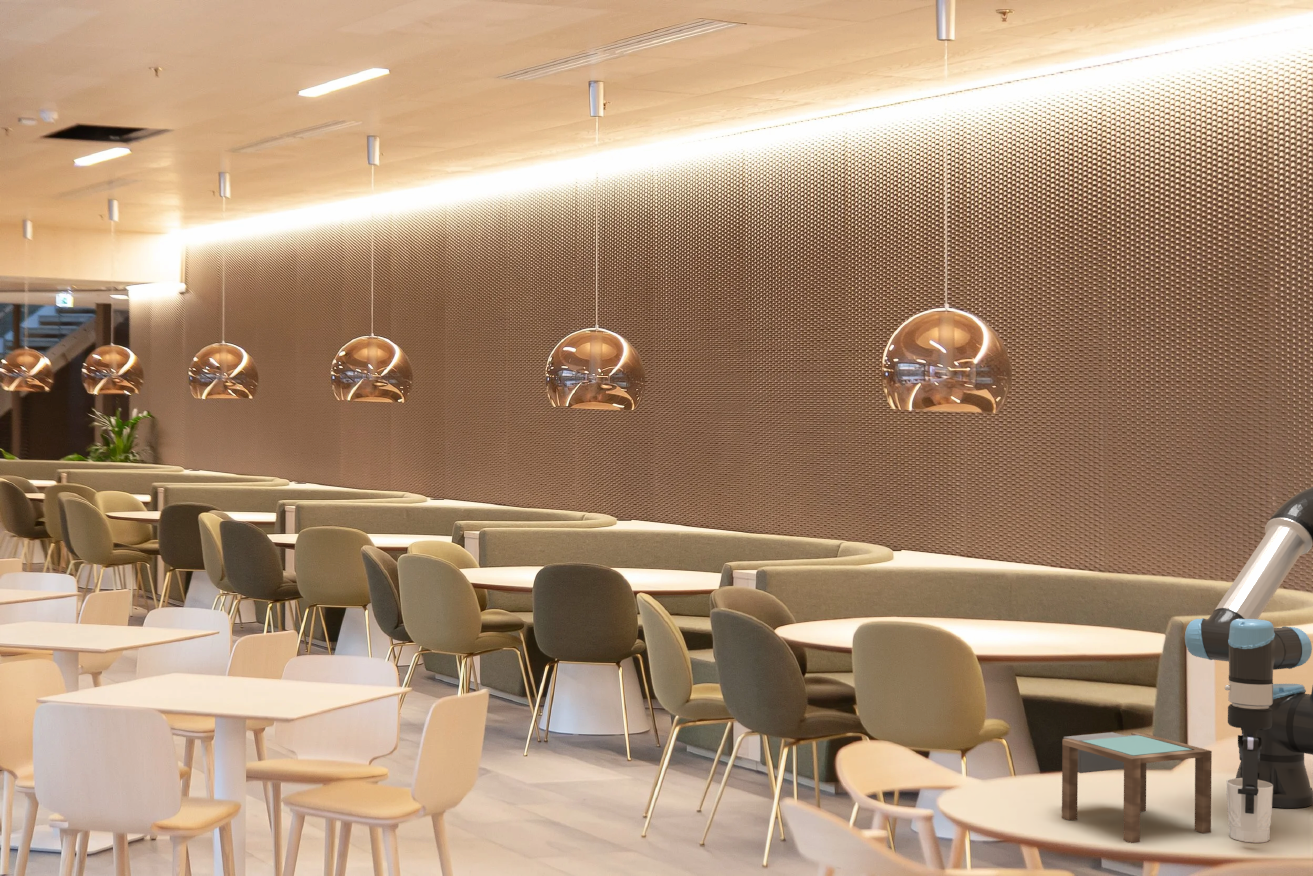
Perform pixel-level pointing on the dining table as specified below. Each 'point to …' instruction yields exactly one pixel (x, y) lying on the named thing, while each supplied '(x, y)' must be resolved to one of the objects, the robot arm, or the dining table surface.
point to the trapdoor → (1118, 750)
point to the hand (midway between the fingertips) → (1248, 822)
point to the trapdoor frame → (1138, 781)
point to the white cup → (1262, 816)
